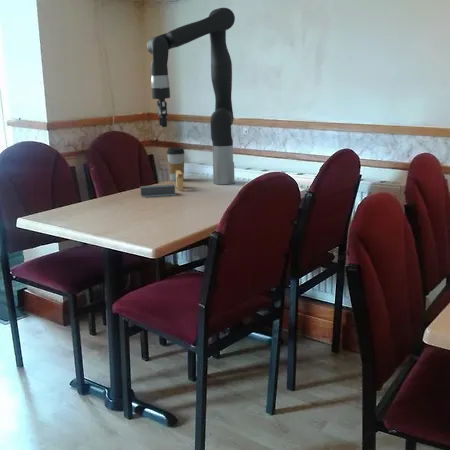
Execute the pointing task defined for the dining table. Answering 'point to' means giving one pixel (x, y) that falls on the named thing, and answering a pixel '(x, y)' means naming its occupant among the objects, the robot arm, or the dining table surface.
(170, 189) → the dark gray rectangular block
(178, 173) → the yellow bent bar
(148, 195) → the light blue panel
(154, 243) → the dining table surface
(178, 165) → the coffee cup
